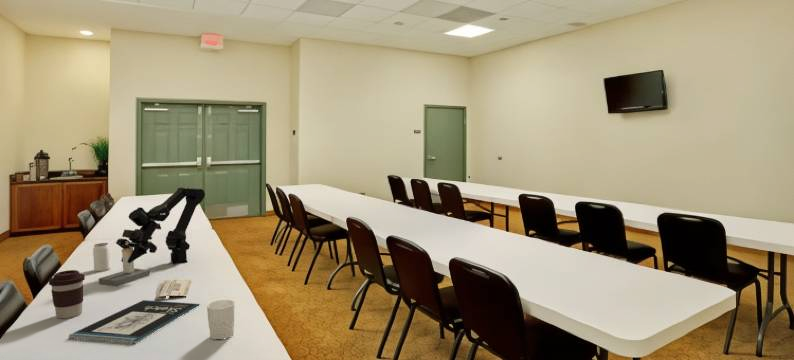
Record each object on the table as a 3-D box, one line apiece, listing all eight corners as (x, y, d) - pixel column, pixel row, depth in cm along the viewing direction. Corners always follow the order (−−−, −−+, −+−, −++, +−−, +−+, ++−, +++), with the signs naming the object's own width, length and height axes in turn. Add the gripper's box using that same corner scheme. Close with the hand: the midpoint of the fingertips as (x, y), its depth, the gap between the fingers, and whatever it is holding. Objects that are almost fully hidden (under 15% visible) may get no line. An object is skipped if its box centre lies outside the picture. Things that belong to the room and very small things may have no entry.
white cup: (225, 328, 144) (224, 298, 143) (240, 334, 139) (239, 303, 139) (203, 337, 137) (201, 305, 137) (218, 343, 133) (216, 311, 132)
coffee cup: (63, 310, 159) (60, 268, 158) (93, 309, 160) (90, 268, 159) (44, 321, 150) (41, 277, 148) (75, 320, 150) (72, 276, 149)
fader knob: (128, 270, 198) (127, 248, 197) (134, 271, 196) (133, 248, 196) (122, 272, 195) (121, 249, 194) (128, 273, 194) (127, 250, 193)
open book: (159, 285, 189) (160, 279, 189) (191, 285, 193) (191, 279, 193) (149, 303, 167) (150, 296, 167) (185, 302, 171) (186, 296, 171)
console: (132, 273, 203) (132, 267, 203) (149, 275, 200) (149, 270, 200) (99, 284, 188) (98, 278, 188) (116, 286, 185) (116, 280, 185)
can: (102, 271, 205) (101, 246, 204) (90, 271, 207) (89, 245, 206) (114, 268, 212) (112, 243, 211) (102, 267, 213) (101, 242, 212)
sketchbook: (199, 307, 164) (199, 301, 164) (133, 347, 132) (133, 340, 132) (143, 303, 168) (143, 297, 167) (66, 341, 136) (65, 334, 136)
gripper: (118, 220, 201) (96, 250, 191) (150, 223, 194) (128, 254, 185) (134, 234, 209) (114, 263, 199) (165, 237, 202) (146, 267, 193)
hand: (125, 262), depth 194 cm, fingers closed on fader knob, 3 cm apart
